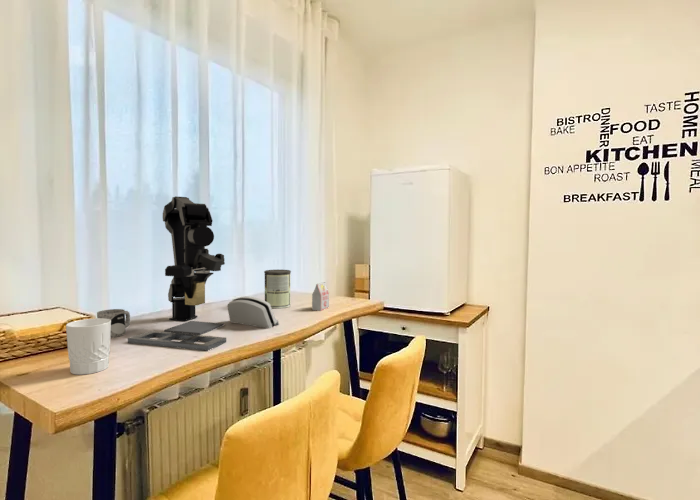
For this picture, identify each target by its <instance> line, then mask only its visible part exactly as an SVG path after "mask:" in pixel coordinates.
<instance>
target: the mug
mask: <svg viewBox="0 0 700 500" xmlns="http://www.w3.org/2000/svg"><path fill="white" fill-rule="evenodd" d="M130 314H131V313H130V311H128V310H125V309H122V308H113V309H112V308H111V309H104V310H99V311H97V312H96V319H97V318H103V319H110V320H111V338H117V337H120V336H121V337H122V336H123V335H125V334H126V328H127V327H128V328H129V326H130V324H131V315H130Z"/></svg>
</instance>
